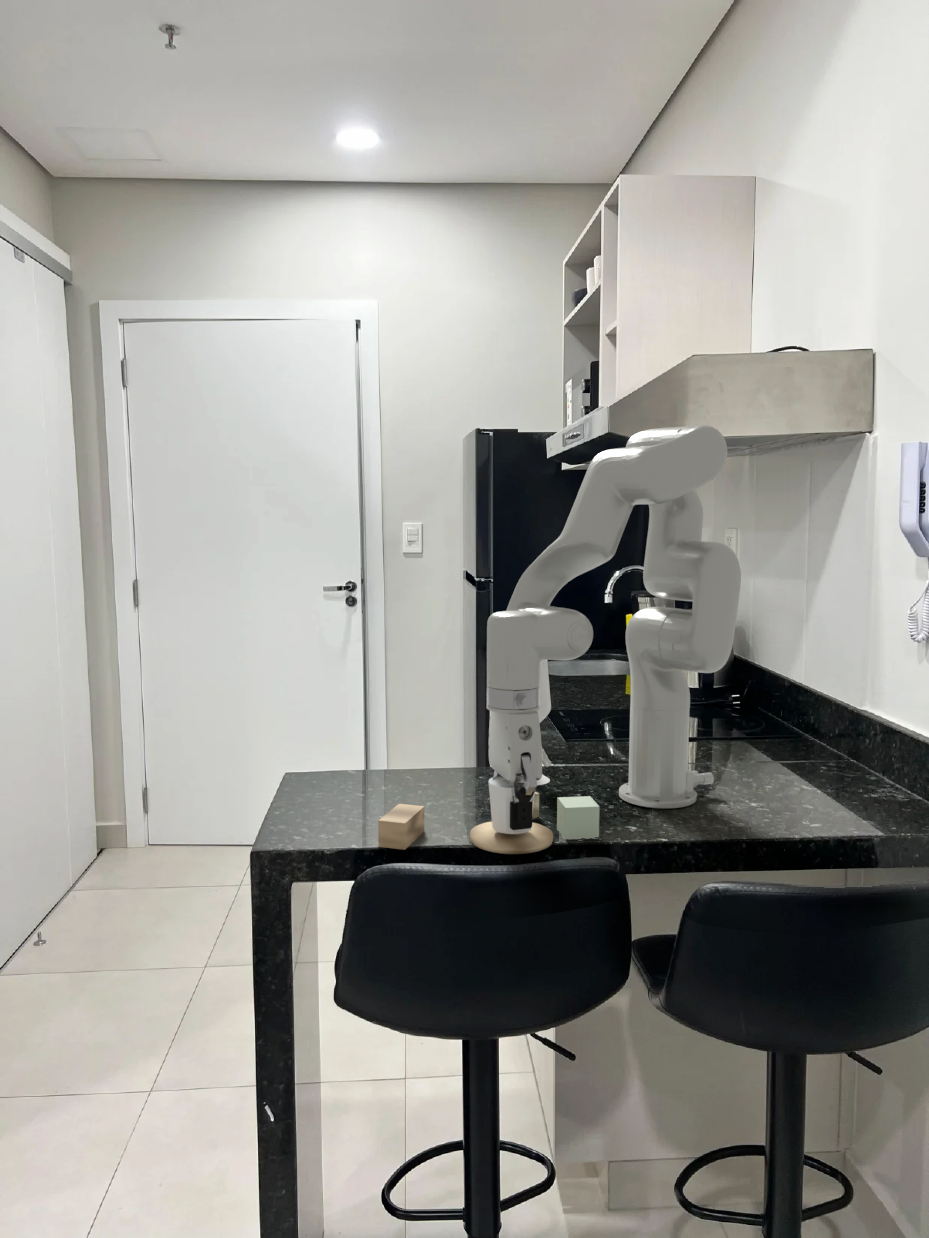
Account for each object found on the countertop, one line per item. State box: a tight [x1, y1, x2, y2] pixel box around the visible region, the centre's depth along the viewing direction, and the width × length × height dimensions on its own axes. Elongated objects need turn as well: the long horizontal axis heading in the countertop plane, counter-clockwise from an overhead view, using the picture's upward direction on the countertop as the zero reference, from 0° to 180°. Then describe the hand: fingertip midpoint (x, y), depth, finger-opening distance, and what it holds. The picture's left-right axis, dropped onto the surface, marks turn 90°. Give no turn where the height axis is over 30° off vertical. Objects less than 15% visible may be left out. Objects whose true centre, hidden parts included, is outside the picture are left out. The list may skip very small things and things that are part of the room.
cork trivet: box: [469, 820, 554, 855], centre depth 136 cm, size 12×12×1 cm
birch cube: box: [532, 791, 540, 819], centre depth 146 cm, size 4×4×4 cm
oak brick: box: [377, 803, 425, 850], centre depth 136 cm, size 8×4×4 cm, turn 163°
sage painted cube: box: [556, 795, 600, 840], centre depth 138 cm, size 5×5×5 cm
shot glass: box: [487, 775, 536, 834], centre depth 135 cm, size 7×7×7 cm
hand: (512, 819), depth 136 cm, fingers closed on shot glass, 6 cm apart
